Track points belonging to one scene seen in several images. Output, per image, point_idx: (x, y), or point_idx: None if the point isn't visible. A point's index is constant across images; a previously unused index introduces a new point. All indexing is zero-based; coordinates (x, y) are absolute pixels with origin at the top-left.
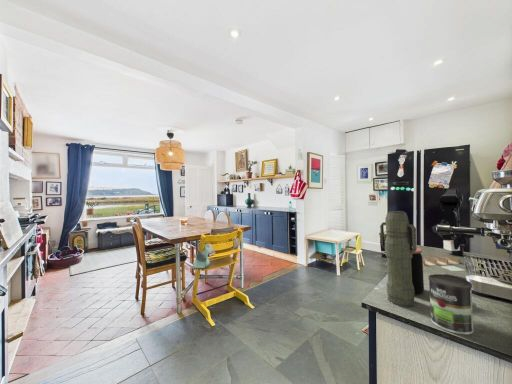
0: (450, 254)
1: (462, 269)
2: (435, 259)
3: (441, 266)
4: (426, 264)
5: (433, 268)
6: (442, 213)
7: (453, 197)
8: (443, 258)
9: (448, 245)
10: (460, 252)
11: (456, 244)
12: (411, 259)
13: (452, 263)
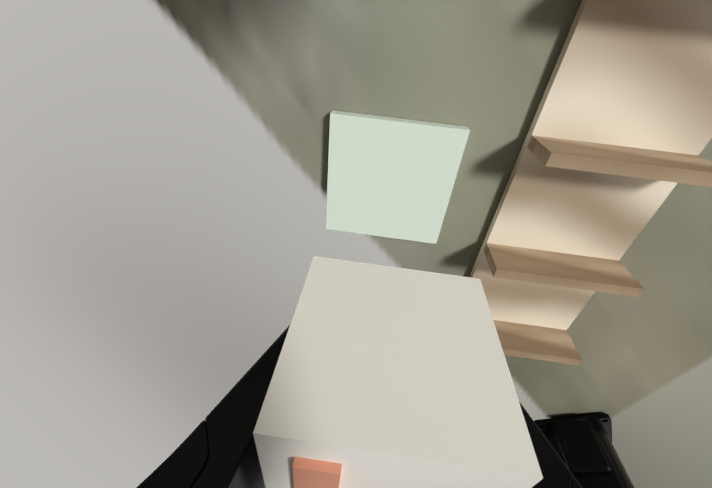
0: (602, 419)
1: (345, 224)
2: (616, 263)
3: (464, 136)
4: (604, 35)
5: (483, 13)
6: None
7: None
8: (539, 278)
9: (365, 339)
10: (557, 452)
11: (225, 411)
12: None
13: None
